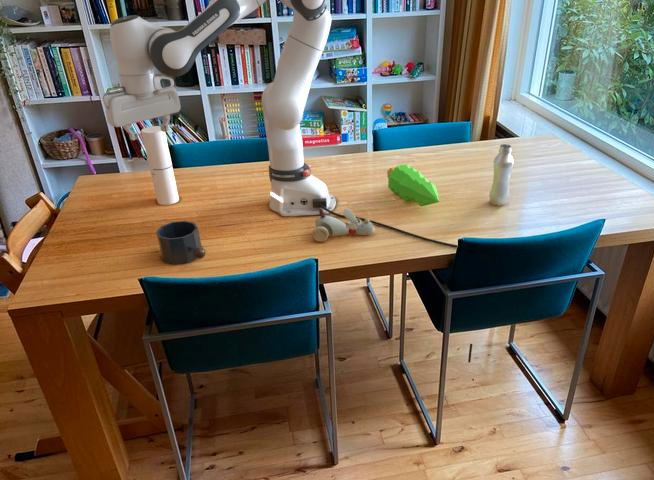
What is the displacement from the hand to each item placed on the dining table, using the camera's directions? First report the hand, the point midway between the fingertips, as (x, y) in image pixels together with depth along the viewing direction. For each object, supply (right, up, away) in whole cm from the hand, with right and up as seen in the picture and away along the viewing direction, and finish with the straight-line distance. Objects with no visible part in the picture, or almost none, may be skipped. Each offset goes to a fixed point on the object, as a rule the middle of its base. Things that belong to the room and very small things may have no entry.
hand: (150, 135), depth 152 cm
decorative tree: (+76, -14, +35) cm, 85 cm away
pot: (+3, -28, +7) cm, 29 cm away
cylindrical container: (-8, -13, +38) cm, 41 cm away
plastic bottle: (+105, -15, +33) cm, 111 cm away
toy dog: (+52, -27, +16) cm, 61 cm away
